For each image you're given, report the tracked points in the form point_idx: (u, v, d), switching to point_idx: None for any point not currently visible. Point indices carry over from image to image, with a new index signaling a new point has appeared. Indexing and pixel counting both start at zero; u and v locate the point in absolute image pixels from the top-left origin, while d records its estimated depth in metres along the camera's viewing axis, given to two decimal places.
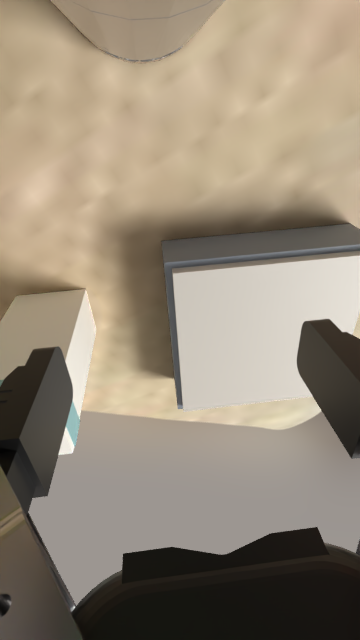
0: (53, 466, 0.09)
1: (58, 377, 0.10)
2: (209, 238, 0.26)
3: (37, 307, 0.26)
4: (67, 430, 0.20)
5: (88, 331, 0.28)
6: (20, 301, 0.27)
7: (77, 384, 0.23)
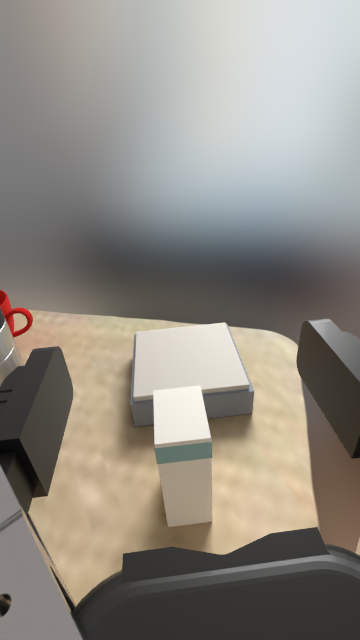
0: (53, 466, 0.09)
1: (59, 378, 0.10)
2: None
3: None
4: None
5: None
6: None
7: None
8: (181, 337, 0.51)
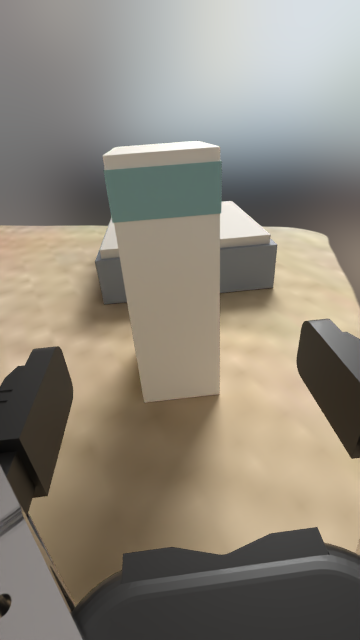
0: (53, 466, 0.09)
1: (59, 377, 0.10)
2: None
3: None
4: None
5: None
6: None
7: None
8: None
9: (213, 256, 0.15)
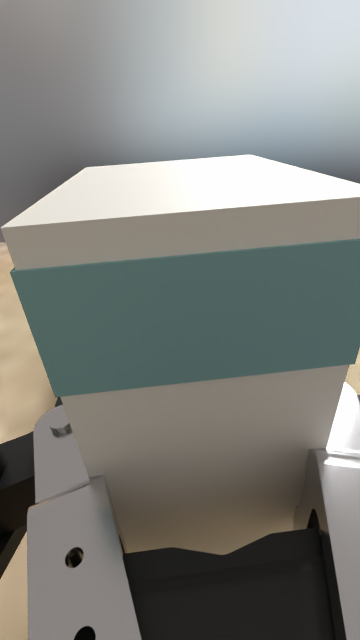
0: None
1: None
2: None
3: None
4: None
5: None
6: None
7: None
8: None
9: (313, 444, 0.06)
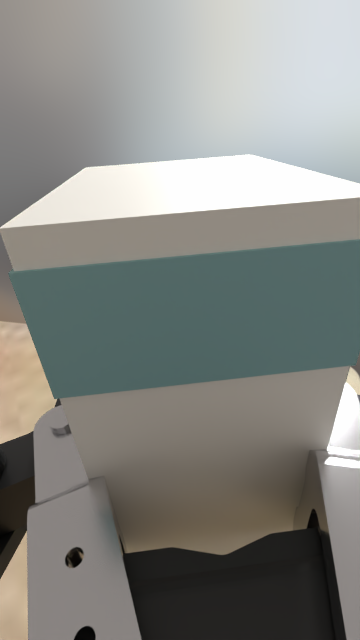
0: None
1: None
2: None
3: None
4: None
5: None
6: None
7: None
8: None
9: (314, 445, 0.06)
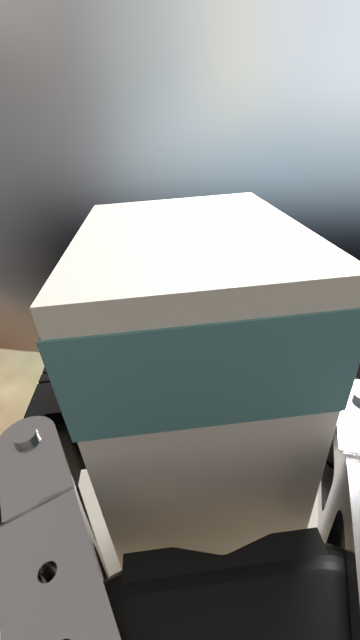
0: None
1: None
2: None
3: None
4: None
5: None
6: None
7: None
8: None
9: (308, 477, 0.06)
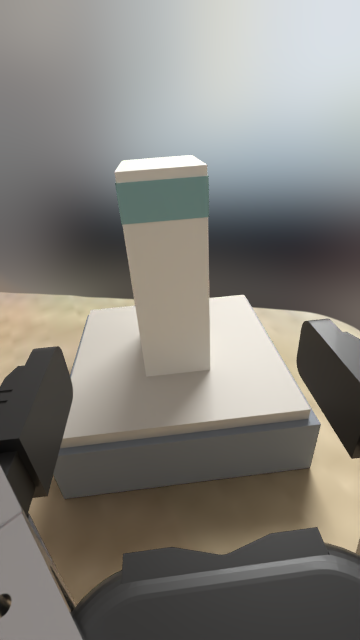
0: (53, 466, 0.09)
1: (59, 377, 0.10)
2: None
3: None
4: None
5: None
6: None
7: None
8: None
9: (203, 251, 0.18)
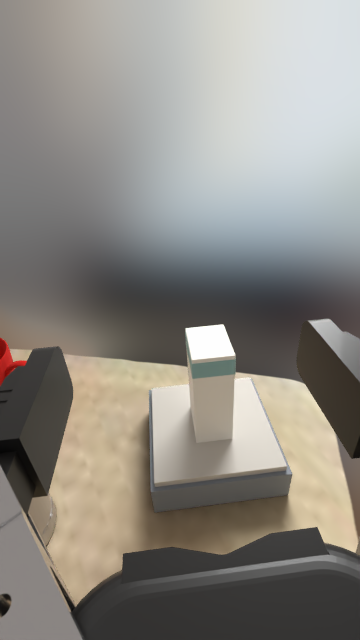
0: (53, 466, 0.09)
1: (59, 378, 0.10)
2: None
3: None
4: None
5: None
6: (195, 432, 0.40)
7: None
8: None
9: (231, 387, 0.35)
